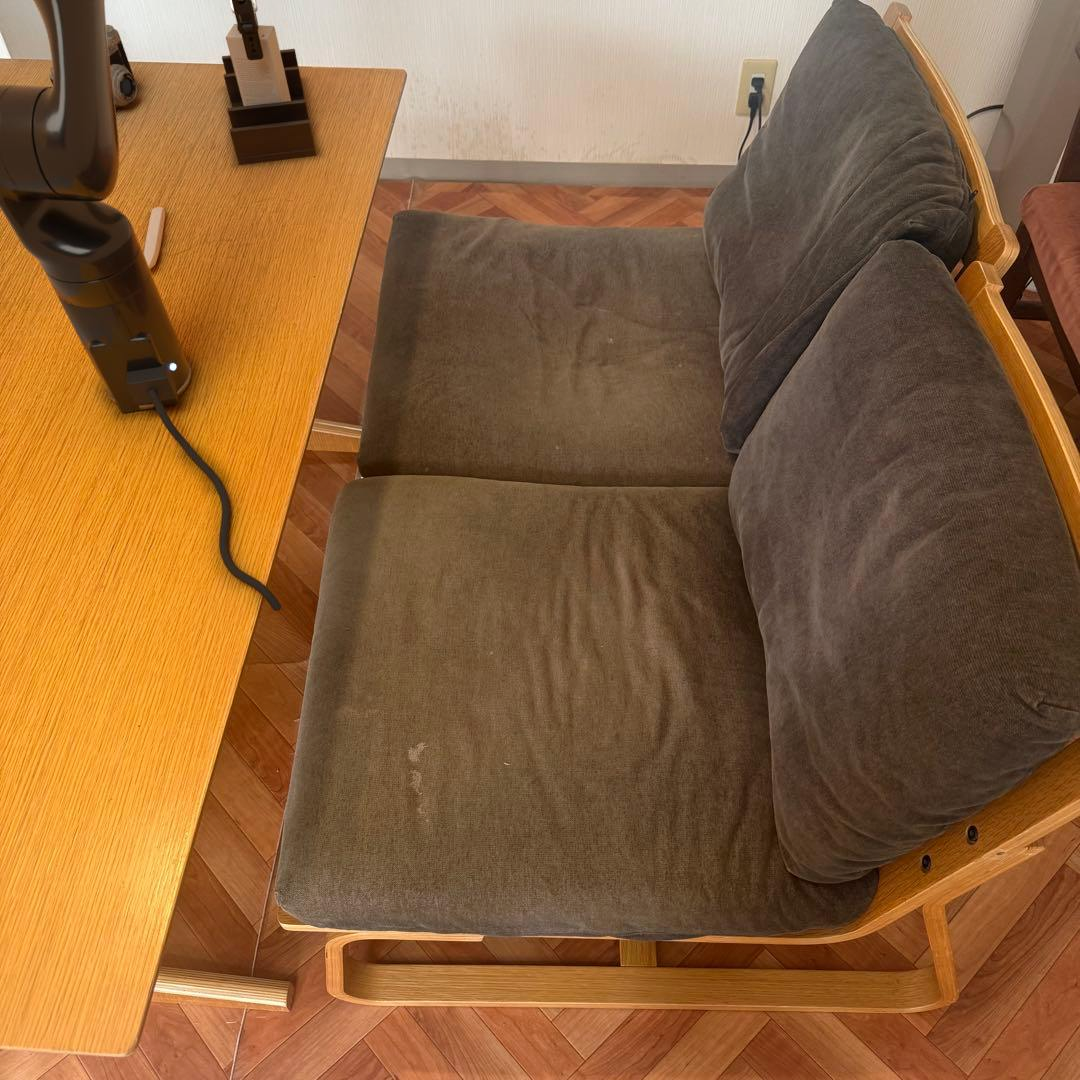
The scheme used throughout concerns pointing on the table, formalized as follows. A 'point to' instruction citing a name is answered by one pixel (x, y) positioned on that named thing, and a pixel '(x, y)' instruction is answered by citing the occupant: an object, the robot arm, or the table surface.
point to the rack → (270, 119)
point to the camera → (118, 70)
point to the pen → (154, 236)
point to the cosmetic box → (259, 68)
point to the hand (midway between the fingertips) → (253, 44)
